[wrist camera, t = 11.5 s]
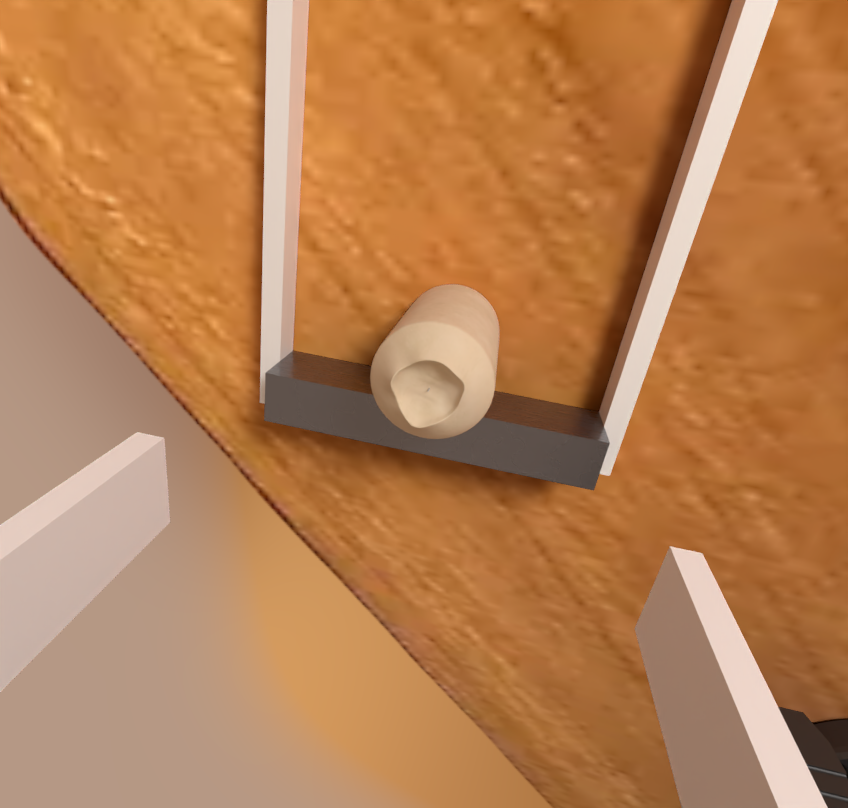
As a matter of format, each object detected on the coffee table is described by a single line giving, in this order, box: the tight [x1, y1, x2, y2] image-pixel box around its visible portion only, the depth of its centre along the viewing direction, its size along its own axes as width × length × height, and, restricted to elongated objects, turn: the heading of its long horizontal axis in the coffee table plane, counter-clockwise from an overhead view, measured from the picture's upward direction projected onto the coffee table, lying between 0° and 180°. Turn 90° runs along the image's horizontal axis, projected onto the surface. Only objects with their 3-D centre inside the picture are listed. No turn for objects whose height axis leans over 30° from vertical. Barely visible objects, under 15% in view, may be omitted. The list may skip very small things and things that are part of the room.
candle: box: [370, 284, 499, 439], centre depth 26 cm, size 6×6×10 cm
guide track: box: [260, 0, 778, 490], centre depth 26 cm, size 25×21×4 cm
